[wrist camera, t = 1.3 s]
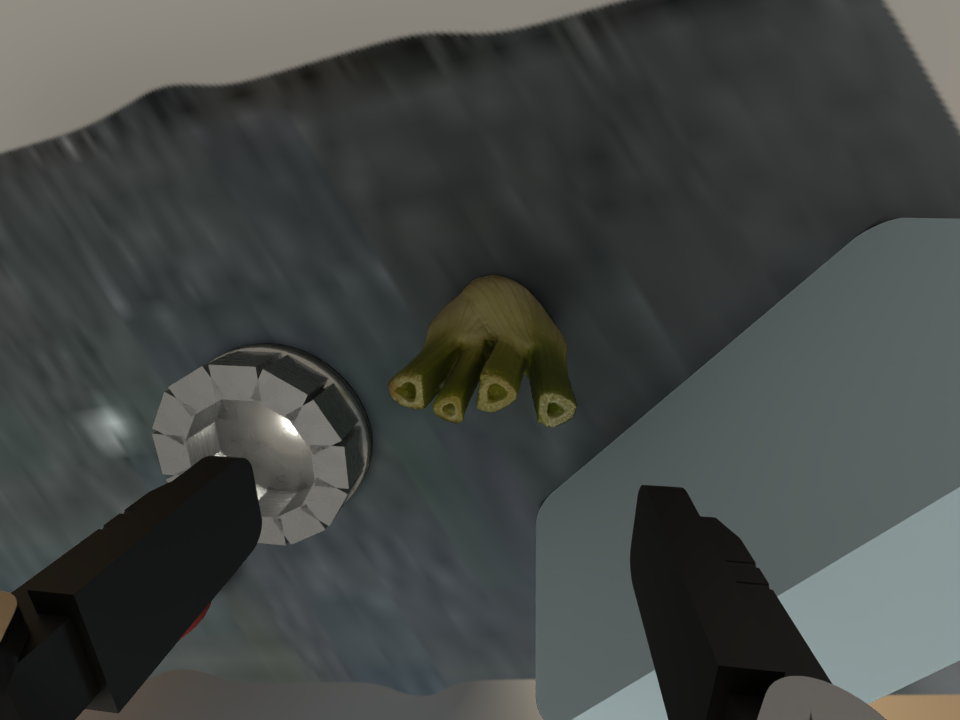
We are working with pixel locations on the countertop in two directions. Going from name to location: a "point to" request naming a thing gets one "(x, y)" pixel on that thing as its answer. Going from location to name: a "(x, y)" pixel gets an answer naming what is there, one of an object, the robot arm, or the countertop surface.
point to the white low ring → (271, 433)
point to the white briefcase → (787, 484)
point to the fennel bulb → (489, 356)
